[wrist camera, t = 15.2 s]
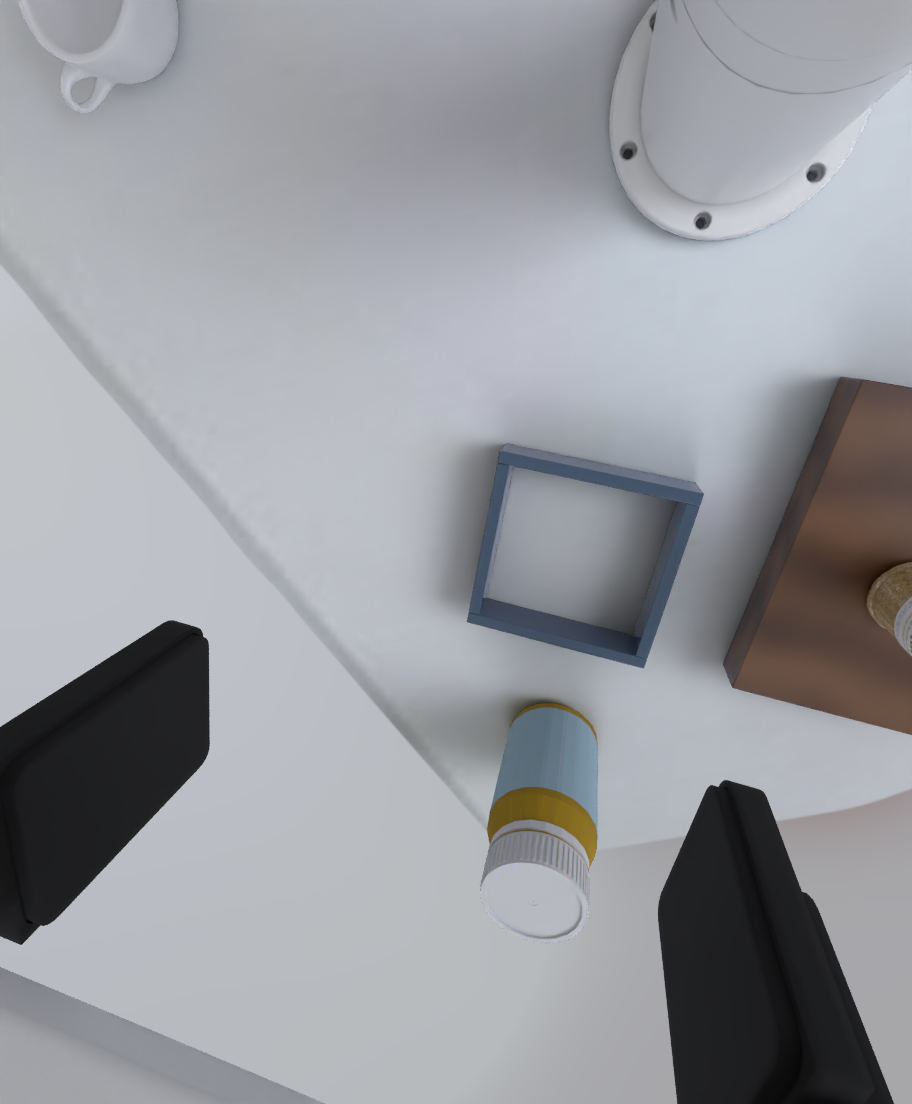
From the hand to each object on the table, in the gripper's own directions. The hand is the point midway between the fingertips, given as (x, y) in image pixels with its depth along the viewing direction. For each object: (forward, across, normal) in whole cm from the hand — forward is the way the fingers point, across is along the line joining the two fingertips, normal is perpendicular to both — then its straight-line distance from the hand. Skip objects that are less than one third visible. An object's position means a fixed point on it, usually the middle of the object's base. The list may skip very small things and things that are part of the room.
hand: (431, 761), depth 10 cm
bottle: (+31, -5, +22) cm, 38 cm away
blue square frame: (+30, -3, +6) cm, 31 cm away
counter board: (+30, -22, +2) cm, 37 cm away
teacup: (+31, +31, -20) cm, 48 cm away
